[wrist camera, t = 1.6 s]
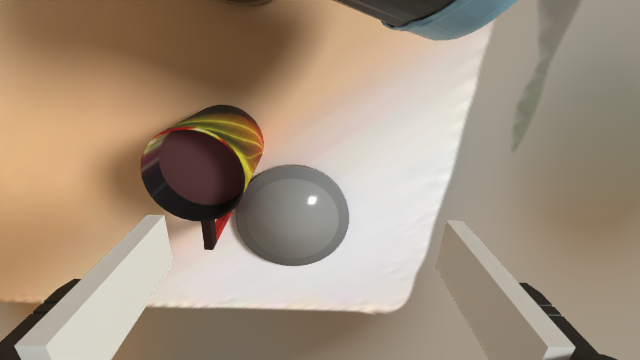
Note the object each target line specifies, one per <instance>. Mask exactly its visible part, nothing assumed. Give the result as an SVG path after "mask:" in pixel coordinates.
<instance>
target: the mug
mask: <svg viewBox="0 0 640 360" xmlns="http://www.w3.org/2000/svg"><path fill="white" fill-rule="evenodd" d="M263 147H264V141H263V136H262V133H261V130H260V128H259V126H258V125H257V123H256V122H255V120H254V119H253V118H252V117H251V116H250V115H248V114H247V113H246V112H244V111H243V110H241V109H239V108H236V107H233V106H229V105H216V106H212V107H209V108H206V109H204V110H203V111H201V112H199V113H197V114H195V115H193V116H191V117H189V118H187V119H186V120H184V121H182V122H180V123H178V124H176V125H174V126H172V127H170V128H168V129H167V130H165V131H163V132H161V133H160V134H158V135H156V136H155V137H154V138H153V139H152V140H151V141H150V142H149V143H148V145H147V146H146V148H145V150H144V152H143V155H142V158H141V175H142V179H143V182H144V185H145V187H146V189H147V191H148V192H149V194H150V196H151V197H152V198H153V199H154V200H155V202H156V203H157V204H159V205H160V206H161V207H162V208H163V209H165V210H166V211H168V212H169V213H171V214H173V215H175V216H177V217H180V218H182V219H187V220H191V221H201V225H202V232H203V240H204V249H205V250H213V249H214V247H215V245H216V243H217V241H218V239H219V237H220V235H221V233H222V231H223V229H224V227H225V225H226V223H227V221H228V219H229V217H230V215H231V213H232V210H233V209H234V208H235V207H236V206H237V204H238V203H239V202H240V200H241V198H242V196H243V194H244V192H245V190H246V187H247V185H248V183H249V181H250V179H251V177H252V175H253V173H254V171H255V169H256V167H257V165H258V163H259V160H260V158H261V156H262V153H263ZM215 219H217V220H216V222H215Z"/></svg>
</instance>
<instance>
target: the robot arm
mask: <svg viewBox="0 0 640 360" xmlns="http://www.w3.org/2000/svg"><path fill="white" fill-rule="evenodd" d="M221 1H223V2H226V3H229V4H233V5H239V6H255V5H260V4H264V3H267V2H269V1H272V0H221ZM333 1H336V2H338V3H340V4H343V5H345V6H348V7H350V8H352V9H355V10H357V11H360V12H362V13H365V14H367V15H369V16H372V17H374V18H377V19H379V20H381V22H382V24H383V25H385V26H386V27H388V28H390V29H392V30H400V31H408V32H411V33H413V34H416V35H419V36H422V37H425V38H427V39H431V40H436V41H437V40H451V39H457V38H460V37H462V36H465V35H468V34H470V33H472V32H474V31H476V30H478V29H480V28H481V27H483V26H485V25H486V24H488V23H489V22H491V21H492V20H494V19H495V18H497V17H498V16H499V15H501V14H502V13H503V12H504V11H506V10H507V9H508V8H509V7H510V6H512V5H513V4H514V3H515V2H516V1H518V0H333ZM172 265H173V259H172V254H171V248H170V243H169V238H168V233H167V227H166V222H165V217H164V215H146V216H145V217H144V218H143V219H142V220H141V221H140V222H139V223H138V224H137V225H136V226H135V227H134V228H133V229H132V230H131V231H130V232H129V233H128V234H127V235H126V236H125V237H124V238H123V239H122V240H121V241H120V242H119V243H118V244H117V245H116V246H115V247H114V248H113V249H112V250H111V251H110V252H109V253H108V254H107V255H106V256H105V257H104V258H103V259H102V260H101V261H100V262H99V263H98V264H97V265H96V266H95V267H94V268H93V269H92V270H91V271H90V272H88V273H87V274H86V275H85V276H84V277H83V278H82V279H73V280H71V281H70V282H68V283H67V284H65V285H63V286H62V287H60V288H58V289H57V290H56V291H55V292H54V293H53V294H51V295H50V296H49V297H48V298H47V299H46V300H45V301H44V303H43V304H41V305H40V306H39V307H37V309H35V310H34V311H33V314H30V315H29V316H28V317H27V318H26V319H25V320H24V321H23V322H21V323H20V324H19V325H18V326H17V327H16V328H15V329H14V330H13V331H12V332H11V333H10V334H8V336H6V337H5V338H4V339H3V340H2V341H1V342H0V360H111V359H112V357H113V356H114V354H115V353H116V351H117V350H118V348H119V347H120V345H121V344H122V342H123V340H124V339H125V337H126V336H127V334H128V333H129V331H130V330H131V328H132V327H133V325H134V323H135V322H136V320H137V319H138V318H139V316H140V314H141V313H142V311H143V310H144V308H145V307H146V305H147V304H148V302H149V301H150V299H151V298H152V296H153V295H154V293H155V291H156V290H157V288H158V287H159V285H160V284H161V282H162V281H163V279H164V278H165V276H166V275H167V273H168V272H169V270H170V268H171V267H172ZM436 269H437V271H438V272H439V274H440V276H441V278H442V279H443V281H444V283H445V284H446V286H447V288H448V289H449V291H450V293H451V295H452V297H453V298H454V300H455V302H456V303H457V305H458V307H459V309H460V310H461V312H462V314H463V316H464V317H465V319H466V321H467V323H468V324H469V326H470V328H471V329H472V331H473V333H474V335H475V336H476V338H477V340H478V342H479V343H480V345H481V347H482V349H483V350H484V352H485V354H486V356H487V357H488V359H489V360H617V359H615V358H612V357H609V356H606V355H601V354H598V353H597V351H596V350H595V349H594V348H593V347H592V346H591V345H590V344H589V343H588V342H587V341H586V340H585V339H584V338H583V337H582V336H581V335H580V334H579V333H578V332H577V331H576V329H575V328H573V326H572V325H571V324H570V323H569V322H568V321H567V320H566V319H565V318H564V317H562V316H561V314H560V313H559V312H558V311H557V309H555V307H552V305H551V303H550V302H549V301H548V300H547V299H546V298H545V297H544V296H543V295H542V294H541V293H540V292H539V291H537V290H536V289H534V288H533V287H531V286H530V285H528V284H527V283H518V282H517V281H516V280H515V279H514V278H513V277H512V276H511V274H510V273H509V272H508V271H507V270H506V269H505V268H504V267H503V265H502V264H501V263H500V262H499V261H498V260H497V259H496V258H495V257H494V255H493V254H492V253H491V252H490V251H489V250H488V249H487V248H486V247H485V245H484V244H483V243H482V242H481V241H480V240H479V239H478V238H477V236H475V234H474V233H473V232H472V231H471V230H470V229H469V228H468V226H467V225H466V224H465V223H464V222H463V221H454V220H452V221H451V220H447V221H446V225H445V229H444V234H443V238H442V242H441V246H440V250H439V255H438V259H437V263H436Z"/></svg>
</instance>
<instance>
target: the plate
mask: <svg viewBox="0 0 640 360" xmlns="http://www.w3.org/2000/svg"><path fill="white" fill-rule="evenodd" d="M236 221H237V227H238V230H239V233H240V235H241V237H242V239H243V240H244V242H245V243H246V244H247V246H248V247H249V248H250V249H251V250H252V251H253V252H254V253H256V254H257V255H259V256H260V257H262V258H264V259H265V260H268V261H270V262H273V263H276V264H280V265H286V266H301V265H307V264H311V263H314V262H317V261H319V260H321V259H323V258H325V257H327V256H328V255H330V254H331V253H332V252H333V251H334V250H335V249H336V248H337V247H338V246H339V245H340V244H341V242H342V241H343V239H344V237H345V235H346V232H347V229H348V224H349V212H348V206H347V203H346V199H345V197H344V195H343V193H342V191H341V189H340V188H339V187H338V185H337V184H336V183H335V182H334V181H333V180H332V179H331V178H330V177H328V176H327V175H325V174H324V173H322V172H320V171H318V170H316V169H313V168H310V167H306V166H302V165H283V166H277V167H274V168H271V169H268V170H266V171H264V172H262V173H261V174H259V175H258V176H256V177H255V178H254V179H253V180H252V181H251V182H250V183H249V184H248V185H247V187H246V190H245V192H244V194H243V196H242V198H241V200H240V202H239V203H238V205H237V210H236Z"/></svg>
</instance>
